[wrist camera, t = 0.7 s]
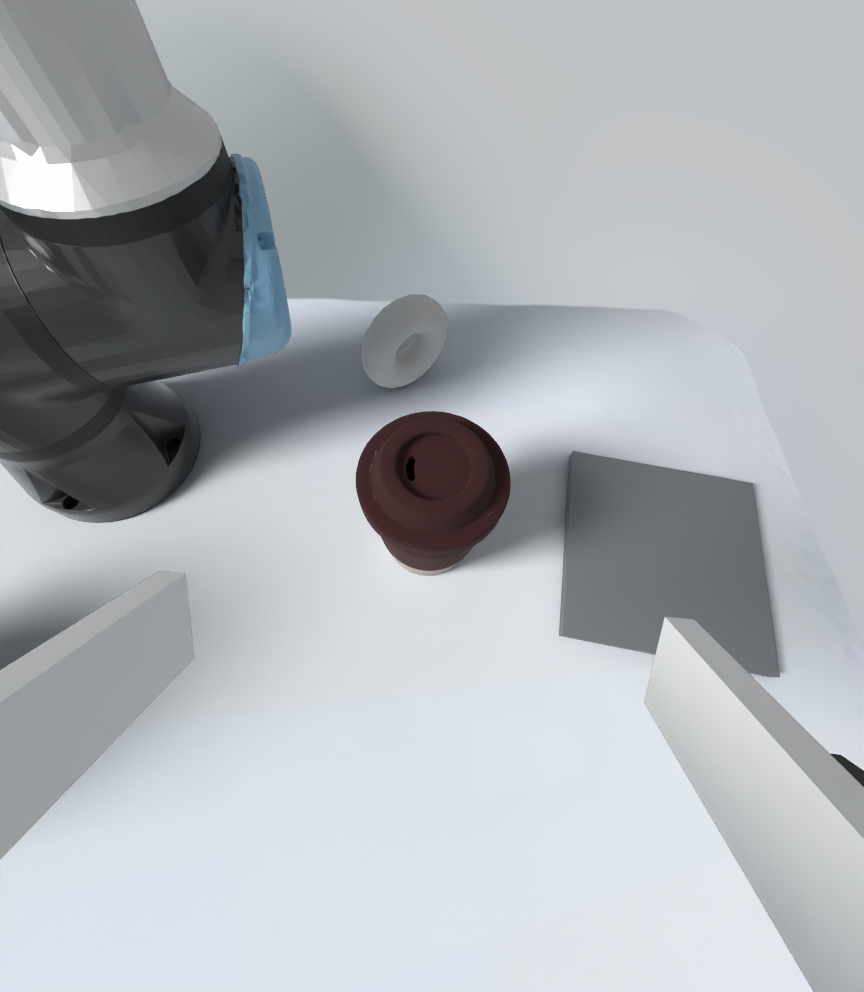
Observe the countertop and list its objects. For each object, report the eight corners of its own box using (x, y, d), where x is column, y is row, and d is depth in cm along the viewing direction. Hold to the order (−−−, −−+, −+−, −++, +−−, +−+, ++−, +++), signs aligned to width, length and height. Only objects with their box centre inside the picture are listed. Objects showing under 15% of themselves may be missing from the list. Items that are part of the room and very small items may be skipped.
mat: (559, 635, 36) (562, 634, 35) (569, 456, 43) (573, 451, 42) (770, 677, 35) (779, 677, 34) (745, 487, 42) (752, 483, 41)
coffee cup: (499, 524, 39) (545, 445, 26) (443, 614, 36) (462, 577, 22) (413, 472, 41) (413, 371, 27) (352, 552, 38) (317, 483, 24)
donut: (431, 346, 48) (435, 269, 39) (450, 365, 47) (459, 290, 38) (360, 388, 45) (346, 316, 36) (378, 410, 44) (369, 340, 35)
